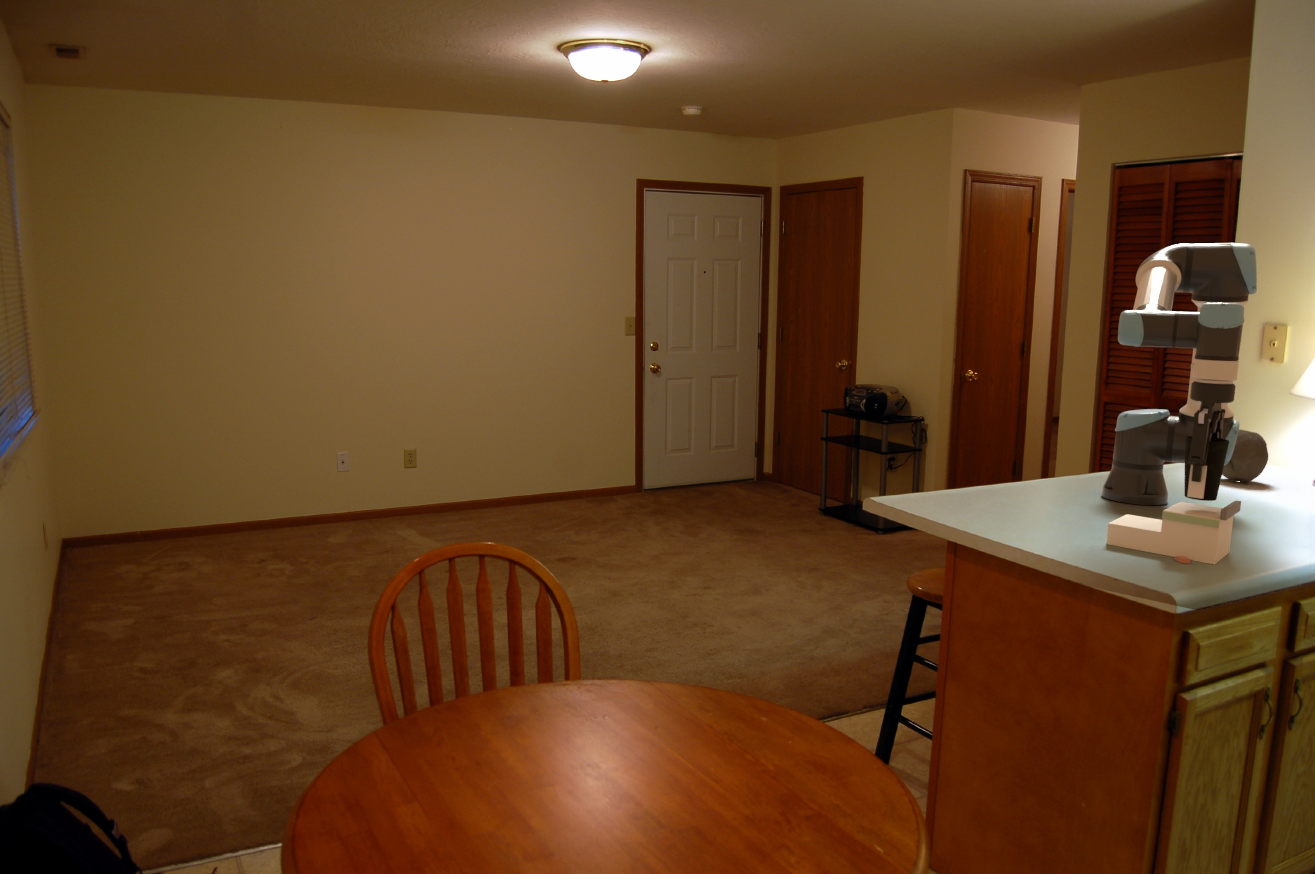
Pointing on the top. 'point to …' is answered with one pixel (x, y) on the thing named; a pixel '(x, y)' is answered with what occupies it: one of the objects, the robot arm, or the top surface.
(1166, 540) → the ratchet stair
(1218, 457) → the cup
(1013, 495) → the top surface
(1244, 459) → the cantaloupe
